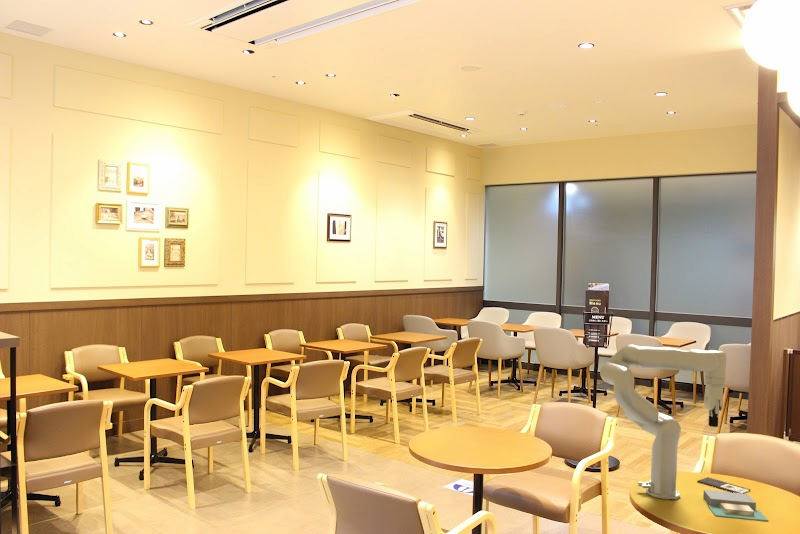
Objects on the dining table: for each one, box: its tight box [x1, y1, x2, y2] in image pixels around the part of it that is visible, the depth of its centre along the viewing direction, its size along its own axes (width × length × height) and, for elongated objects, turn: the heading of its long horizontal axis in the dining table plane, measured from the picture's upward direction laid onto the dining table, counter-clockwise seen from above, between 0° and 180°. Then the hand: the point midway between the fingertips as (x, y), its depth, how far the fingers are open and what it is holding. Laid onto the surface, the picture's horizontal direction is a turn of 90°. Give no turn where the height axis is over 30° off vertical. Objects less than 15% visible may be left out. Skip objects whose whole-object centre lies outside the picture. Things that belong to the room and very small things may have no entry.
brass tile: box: [719, 502, 754, 516], centre depth 248 cm, size 10×7×2 cm
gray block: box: [703, 489, 757, 510], centre depth 256 cm, size 16×10×3 cm, turn 80°
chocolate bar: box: [696, 476, 751, 494], centre depth 277 cm, size 9×1×18 cm
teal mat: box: [707, 504, 770, 522], centre depth 246 cm, size 18×10×1 cm, turn 80°
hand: (713, 426), depth 269 cm, fingers closed
